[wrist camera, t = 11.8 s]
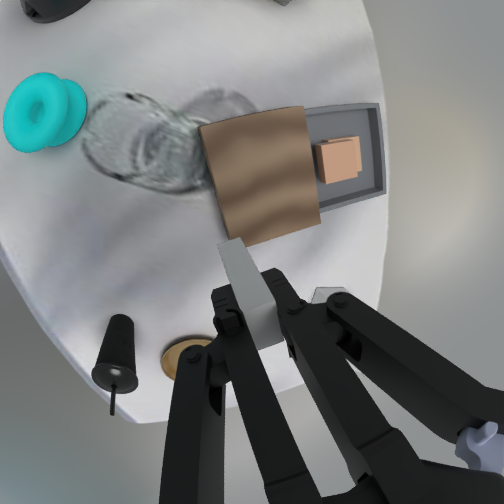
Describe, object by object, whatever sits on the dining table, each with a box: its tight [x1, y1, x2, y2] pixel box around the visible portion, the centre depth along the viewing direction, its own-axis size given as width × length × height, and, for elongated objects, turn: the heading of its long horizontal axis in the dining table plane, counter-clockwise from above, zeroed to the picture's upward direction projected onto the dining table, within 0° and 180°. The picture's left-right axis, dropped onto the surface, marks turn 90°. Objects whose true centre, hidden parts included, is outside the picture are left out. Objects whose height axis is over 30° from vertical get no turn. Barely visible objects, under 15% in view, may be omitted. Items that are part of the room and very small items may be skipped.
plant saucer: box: [161, 339, 212, 381], centre depth 53 cm, size 15×15×3 cm
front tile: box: [315, 139, 358, 184], centre depth 39 cm, size 6×6×2 cm
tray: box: [304, 103, 386, 213], centre depth 40 cm, size 17×15×3 cm
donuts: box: [3, 73, 87, 153], centre depth 23 cm, size 10×10×10 cm
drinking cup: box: [91, 314, 138, 416], centre depth 37 cm, size 8×8×20 cm
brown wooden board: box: [198, 106, 321, 247], centre depth 38 cm, size 18×14×5 cm
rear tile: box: [322, 135, 362, 172], centre depth 40 cm, size 6×6×2 cm
